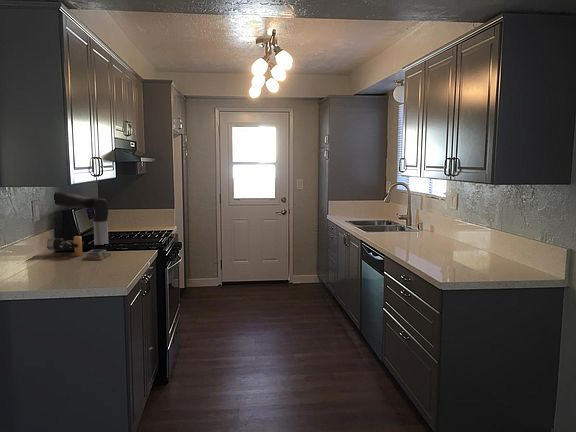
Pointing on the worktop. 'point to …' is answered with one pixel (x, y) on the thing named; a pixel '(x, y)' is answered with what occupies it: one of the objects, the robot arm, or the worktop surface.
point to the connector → (78, 241)
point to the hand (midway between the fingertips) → (80, 244)
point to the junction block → (96, 255)
